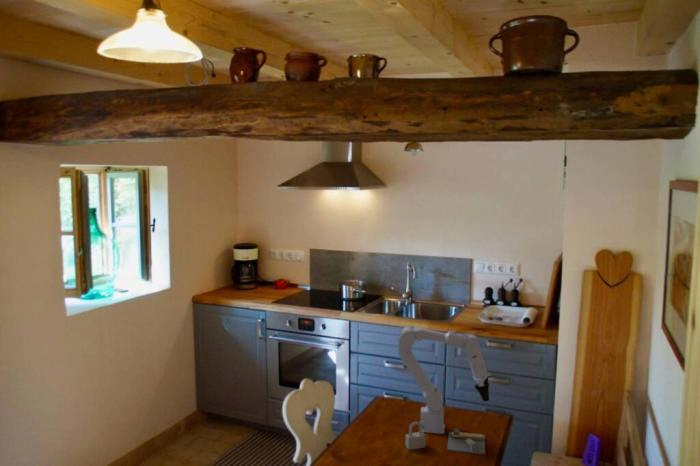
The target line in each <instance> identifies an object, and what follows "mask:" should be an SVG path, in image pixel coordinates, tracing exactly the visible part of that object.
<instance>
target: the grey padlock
mask: <svg viewBox="0 0 700 466" xmlns="http://www.w3.org/2000/svg"><path fill="white" fill-rule="evenodd" d="M414 426H418V431H417V432H416V431H415V432H413V427H414ZM405 447H406V449H407V450H409V451H410V450H418V449H422V448H425V447H426V434H425V432H422V424H421V423H420V421H413V422H411V424H410V425H409V427H408V433H406V434H405Z"/></svg>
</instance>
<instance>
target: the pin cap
mask: <svg viewBox="0 0 700 466" xmlns="http://www.w3.org/2000/svg"><path fill="white" fill-rule="evenodd" d="M453 432H454V434H459V432H460V429H459V428H454V429H453Z"/></svg>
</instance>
